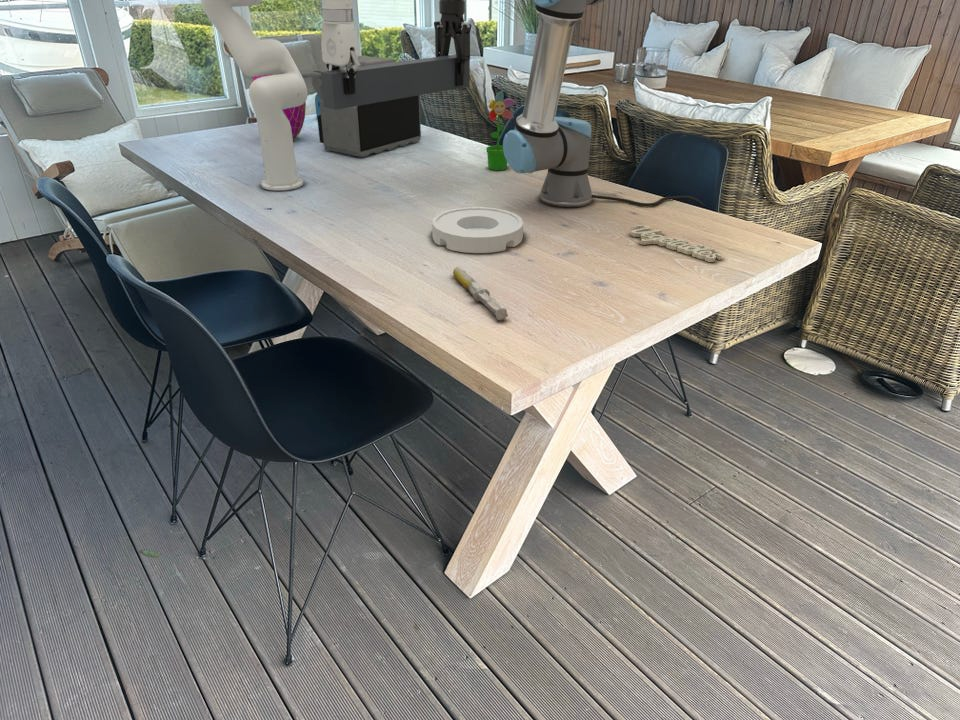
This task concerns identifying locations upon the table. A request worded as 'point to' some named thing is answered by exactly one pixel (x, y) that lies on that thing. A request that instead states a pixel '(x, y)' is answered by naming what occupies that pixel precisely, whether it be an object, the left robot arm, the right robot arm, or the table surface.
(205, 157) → the table surface
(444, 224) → the ashtray
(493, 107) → the potted flower
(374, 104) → the black cooler box
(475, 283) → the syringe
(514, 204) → the table surface
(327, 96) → the beam
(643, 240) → the decorative sign
